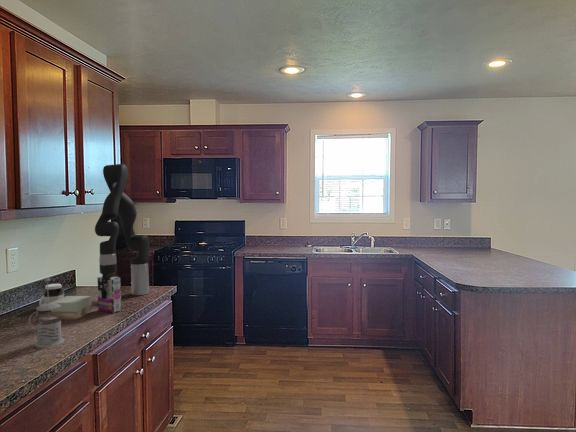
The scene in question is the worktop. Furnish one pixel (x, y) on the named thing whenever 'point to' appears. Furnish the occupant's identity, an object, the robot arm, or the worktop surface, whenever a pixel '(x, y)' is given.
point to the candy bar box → (111, 296)
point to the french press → (48, 325)
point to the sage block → (72, 303)
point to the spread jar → (52, 293)
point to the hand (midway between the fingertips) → (108, 296)
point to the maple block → (73, 313)
